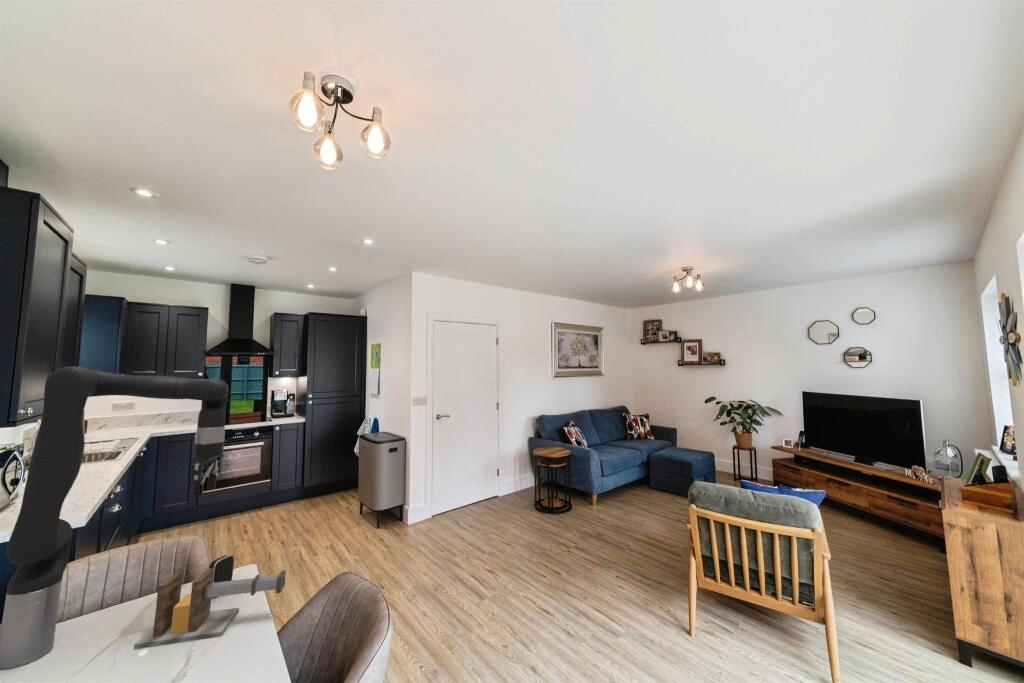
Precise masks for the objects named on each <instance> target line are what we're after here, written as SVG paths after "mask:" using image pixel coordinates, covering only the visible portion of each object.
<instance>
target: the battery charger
mask: <svg viewBox="0 0 1024 683" xmlns="http://www.w3.org/2000/svg"><path fill="white" fill-rule="evenodd" d="M234 563H235V557H234V555H232V554H229V555H227V554H226V555H225V554H224V555H222V556H221V557H217V559H214V560H212V561H211V562H210V564H209V567H208V569H212V568H214V574H213V583H216V582H225V581H233V574H234V566H235V565H234ZM215 598H216V597H211V599H215Z"/></svg>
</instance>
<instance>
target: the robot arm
mask: <svg viewBox="0 0 1024 683" xmlns="http://www.w3.org/2000/svg"><path fill="white" fill-rule="evenodd" d="M43 392H44V394H43V395H44V396H43V408H42V417H41V421H40V425H39V428H38V431H37V434H36V439H35V441H34V442H35V443H34V446H33V450H32V453H31V457H30V461H29V466H28V470H27V477H26V481H25V485H24V486H25V487H24V489H23V490H24V491H23V495H22V501H21V507H20V510H19V513H18V517H17V520H16V521H15V525H14V527H13V530H12V533H11V535H10V538H9V540H8V543H7V546H6V555H7V558H8V560H9V561H10V562H11V563H12V564H14V565H16V566H17V569H16V571H15V572H14V574H13V575H12V576H11V578H10V579H9V581H8V583H7V587H6V588H7V589H6V594H5V602H4V607H3V608H4V609H3V616H2V621H1V623H0V670H5V669H4V668H8V669H12V668H16V667H20V666H23V665H27V664H29V663H31V662H34V661H36V660H38V659H40V658H42V657H44V656H45V655H47V654H48V653H49V652H51V651H52V649H53V648H54V642H55V634H56V629H57V628H56V626H57V620H58V613H59V606H60V599H61V598H60V597H61V591H62V584H63V577H64V576H63V575H64V572H65V571H66V568H67V566H68V564H69V559H70V553H71V547H72V542H73V528H72V525H71V524H70V523H69V522H68V521H67V520H65V519H62V518H60V516H61V511H62V507H63V504H64V501H65V500H66V498H67V496H68V494H69V493H70V490H71V489H72V487H73V485H74V483H75V482H76V480H77V478H78V475H79V473H80V470H81V466H82V461H83V456H84V452H85V434H84V428H83V414H84V411H85V407H86V403H87V401H88V398H90V397H91V398H92V397H104V396H106V397H107V396H124V397H126V396H127V397H128V396H129V397H136V398H137V397H139V398H147V399H159V400H160V399H161V400H192V401H193V400H195V401H201V408H200V411H199V413H198V418H197V428H196V432H195V437H194V445H193V454H192V456H193V458H196V459H197V458H198V462H197V463H192V465H191V471H190V479H189V484H190V485H193V494H192V496H193V497H194V498H200V497H202V496H203V495H204V485H205V484H204V483H205V481H206V478H207V484H206V490H209V491H211V490H215V489H216V488H217V487H216V486H217V478H218V477H219V474H221V473H222V461H223V460H222V459H223V456H222V455H224V447H225V438H226V437H225V435H226V434H225V433H226V431H225V430H226V429H225V428H226V427H225V426H226V413H227V412H226V409H227V403H228V399H229V398H228V397H229V385H228V384H227V382H226V381H225V380H222V379H218V378H190V377H183V376H170V375H131V374H119V373H113V372H112V373H111V372H107V371H102V370H101V371H100V370H95V369H92V368H89V367H85V366H74V365H73V366H64V367H60V368H58V369H56V370H54V371H53V372H52V373H50V374H49V375H48V376H47V378H46V380H45V383H44V391H43Z"/></svg>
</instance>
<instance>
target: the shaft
mask: <svg viewBox="0 0 1024 683" xmlns="http://www.w3.org/2000/svg"><path fill="white" fill-rule="evenodd" d="M286 573H287V570H281V571H280V573H279V574H278V575H272V576H270V575H269V576H260V574H256V575H255V577H254V578H252V577H251V578H242V579H236V580H235V579H234V580H232V581H225V582H216V583H208V584H206V585H205V586H204V588H203V598H211V597H215V598H218V597H225V596H233V595H234V596H235V595H242V594H249V593H250V596H255V594H256V593H258V592H259V593H260V592H265V591H273V590H275V594H281V592H282V591H283V589H284V588H285V586H286V585H285V584H286ZM203 598H202V599H203ZM211 599H212V598H211Z"/></svg>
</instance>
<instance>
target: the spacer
mask: <svg viewBox="0 0 1024 683" xmlns="http://www.w3.org/2000/svg"><path fill="white" fill-rule="evenodd" d="M190 602H191V593H187V594H185V595H184V596H183V597H182V598H180V601H179V602H178V603H177V604H176V606H175V607H174V608H173V617H172V627H171V634H177V633H183V632H188V622H189V612H190Z"/></svg>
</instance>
